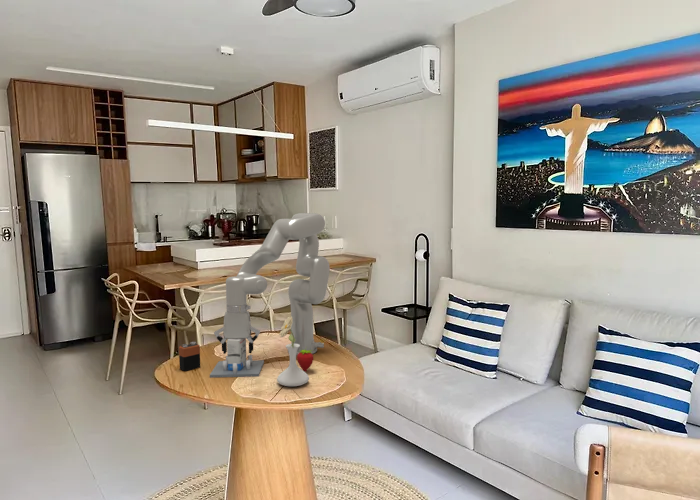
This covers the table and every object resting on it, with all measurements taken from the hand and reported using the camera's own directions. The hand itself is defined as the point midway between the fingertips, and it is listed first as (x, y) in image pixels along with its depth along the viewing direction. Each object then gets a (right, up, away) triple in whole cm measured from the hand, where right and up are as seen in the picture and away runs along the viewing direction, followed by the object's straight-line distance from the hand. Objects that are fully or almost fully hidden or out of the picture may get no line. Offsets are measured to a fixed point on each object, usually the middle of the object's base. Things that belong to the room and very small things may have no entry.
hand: (237, 352), depth 185 cm
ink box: (0, -6, +1) cm, 6 cm away
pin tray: (0, -7, +1) cm, 7 cm away
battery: (-19, -7, +2) cm, 21 cm away
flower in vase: (+23, -8, -15) cm, 29 cm away
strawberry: (+26, -7, -2) cm, 27 cm away
